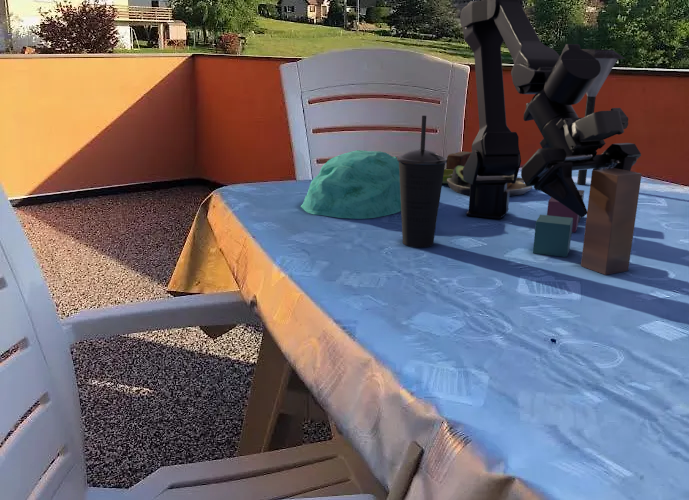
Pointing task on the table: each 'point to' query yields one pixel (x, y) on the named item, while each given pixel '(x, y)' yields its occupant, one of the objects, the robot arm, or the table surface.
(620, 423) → the table surface
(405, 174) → the drinking cup
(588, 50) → the solar garden light
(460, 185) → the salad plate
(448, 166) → the brick
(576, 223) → the cube mid
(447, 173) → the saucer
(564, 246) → the cube near
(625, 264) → the walnut block
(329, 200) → the decorative stone
